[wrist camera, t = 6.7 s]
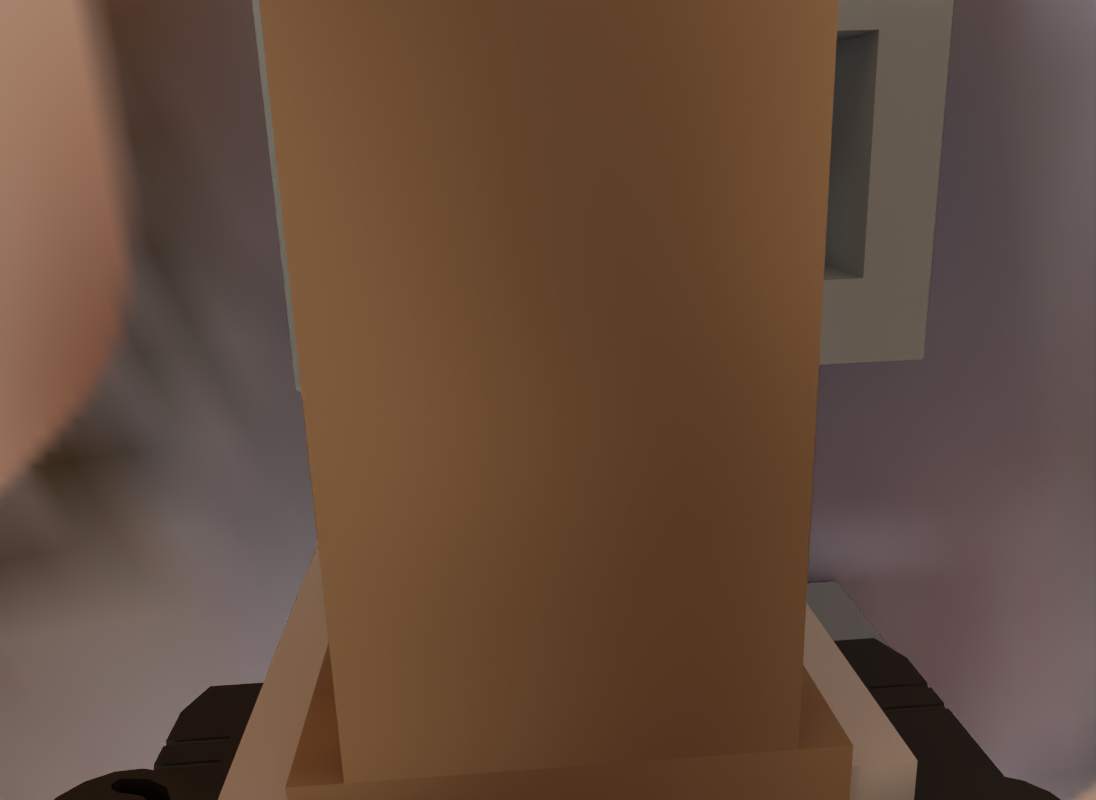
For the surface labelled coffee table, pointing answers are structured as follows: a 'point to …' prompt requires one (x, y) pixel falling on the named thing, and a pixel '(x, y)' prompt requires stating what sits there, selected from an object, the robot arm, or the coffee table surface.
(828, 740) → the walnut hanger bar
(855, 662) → the robot arm
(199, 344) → the coffee table surface
